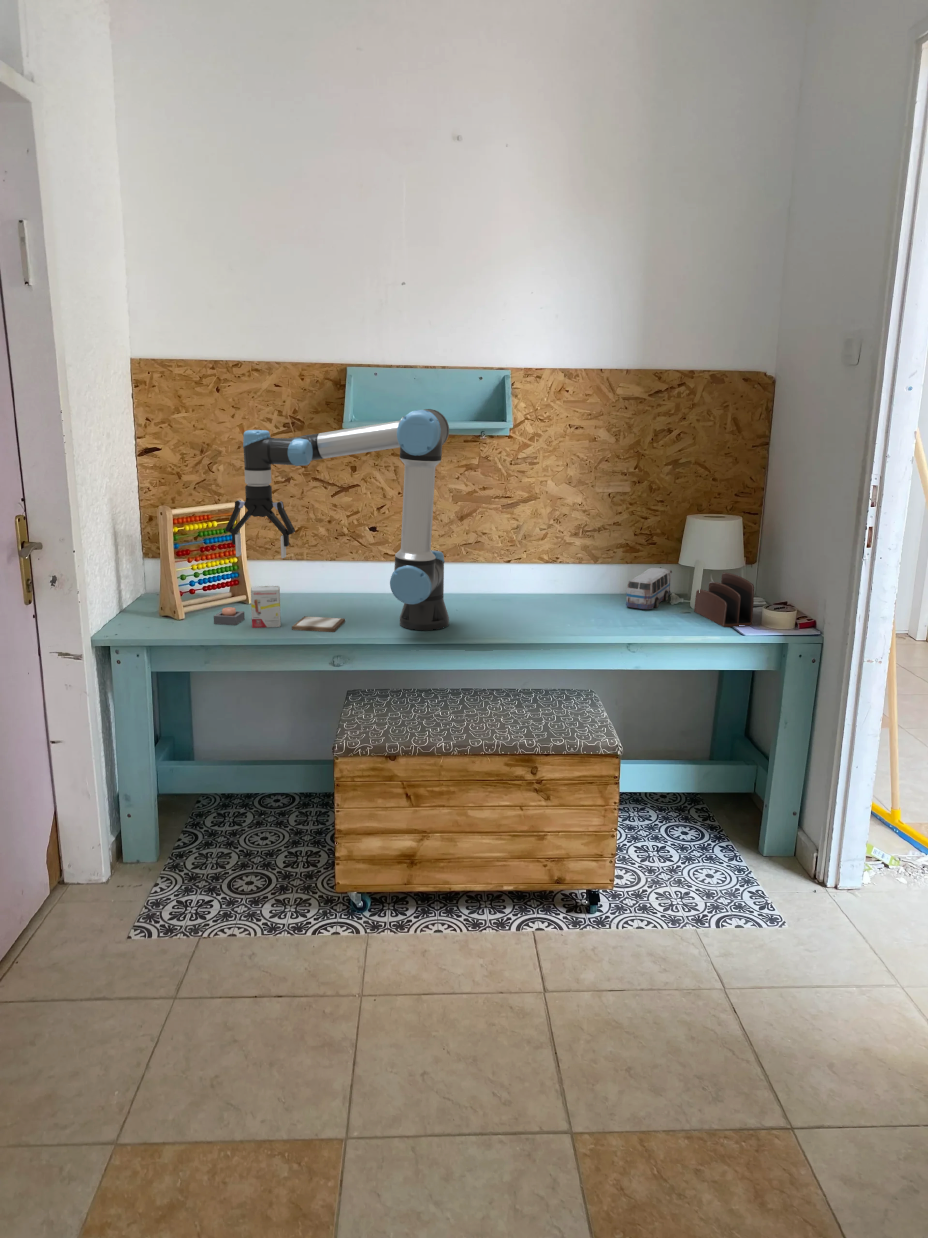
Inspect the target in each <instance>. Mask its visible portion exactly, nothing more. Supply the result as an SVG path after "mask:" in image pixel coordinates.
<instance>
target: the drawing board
mask: <svg viewBox="0 0 928 1238" xmlns="http://www.w3.org/2000/svg"><path fill="white" fill-rule="evenodd" d="M345 622H346V618H342V617H325V616H324V617H322V616H308V615H307V616H303V617H301V619H299V620H298V621H297V622H295V623H294V624H293V625H292V626H291V630H293V631H309V632H326V633H327V632H328V633H335V632H336V631H337V630H338V629H339V628H340V627H341V626H342V625H343V624H345Z"/></svg>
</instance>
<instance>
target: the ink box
mask: <svg viewBox="0 0 928 1238" xmlns="http://www.w3.org/2000/svg"><path fill="white" fill-rule="evenodd" d="M280 589H281V587H280V585H252V586H251V587H250V607H251V608H250V610H251V628H252V629H257V628H260V629H262V628H263V629H265V628H280V627H281V626H282V625H281V623H282V622H281V592H280Z"/></svg>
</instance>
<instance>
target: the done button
mask: <svg viewBox="0 0 928 1238" xmlns="http://www.w3.org/2000/svg"><path fill="white" fill-rule="evenodd" d="M221 611H222V615H223V616H235V615H236V611H237V610H236V607H231V606H228V607H223V608H222V609H221Z"/></svg>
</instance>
